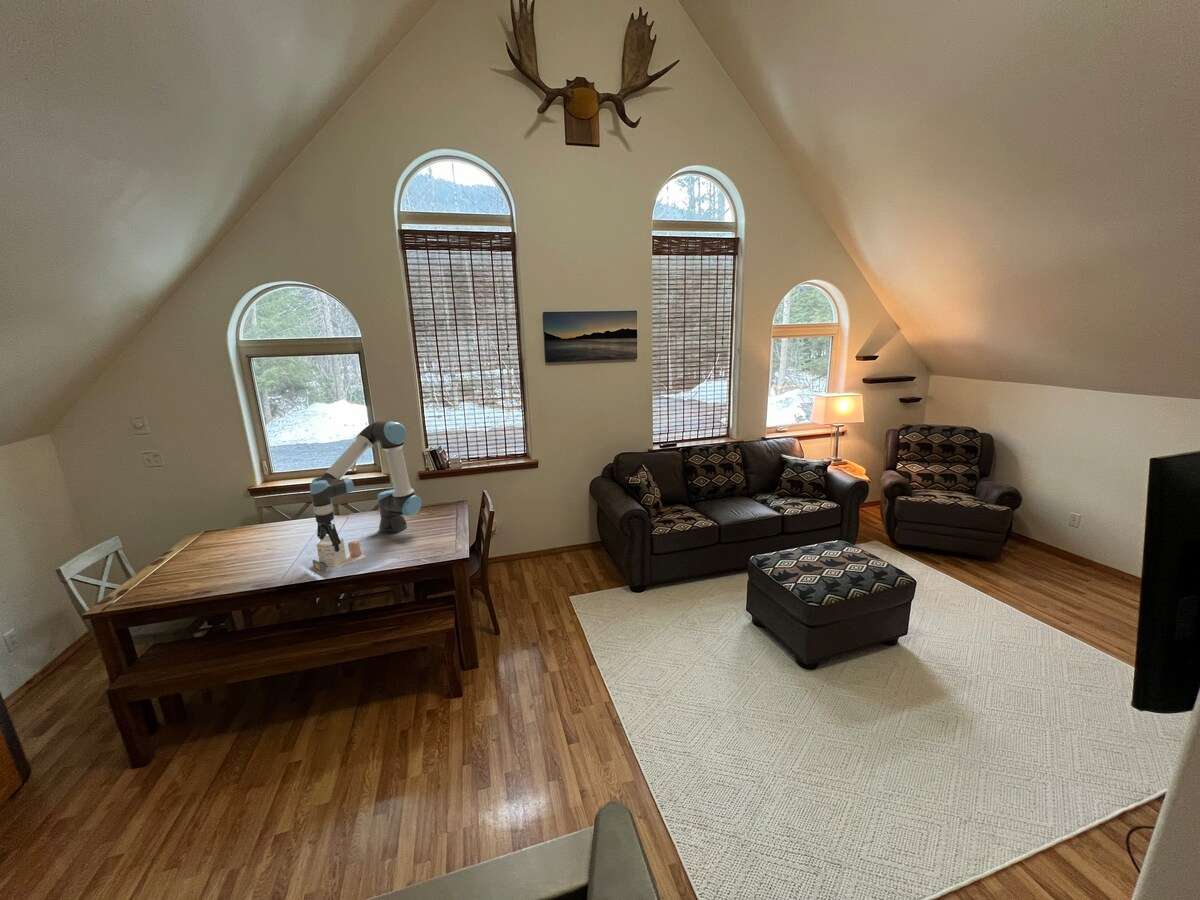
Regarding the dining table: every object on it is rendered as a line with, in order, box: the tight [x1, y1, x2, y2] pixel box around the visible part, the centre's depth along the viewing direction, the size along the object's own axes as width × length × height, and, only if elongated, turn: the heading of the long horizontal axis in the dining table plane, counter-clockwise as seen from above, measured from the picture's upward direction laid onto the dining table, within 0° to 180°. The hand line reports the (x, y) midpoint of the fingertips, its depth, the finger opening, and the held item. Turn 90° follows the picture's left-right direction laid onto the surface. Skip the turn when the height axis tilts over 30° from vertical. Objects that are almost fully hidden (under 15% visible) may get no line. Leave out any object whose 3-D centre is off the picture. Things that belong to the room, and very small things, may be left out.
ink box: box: [316, 535, 347, 567], centre depth 231 cm, size 9×8×13 cm
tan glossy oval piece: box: [347, 540, 362, 558], centre depth 239 cm, size 5×5×7 cm
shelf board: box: [312, 552, 367, 573], centre depth 233 cm, size 20×12×4 cm, turn 142°
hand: (331, 554), depth 231 cm, fingers open, 13 cm apart
